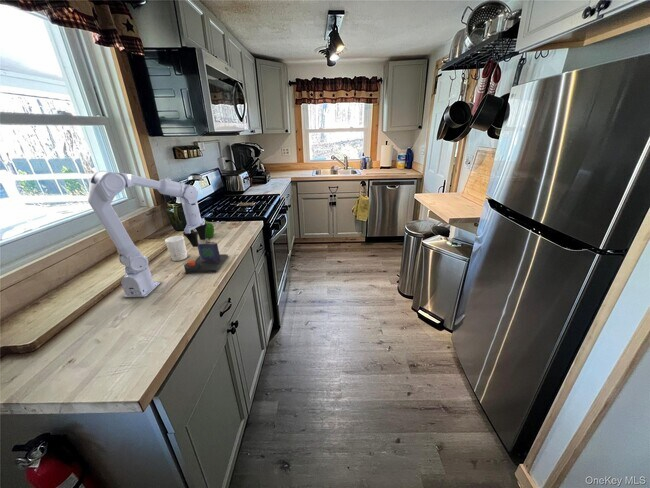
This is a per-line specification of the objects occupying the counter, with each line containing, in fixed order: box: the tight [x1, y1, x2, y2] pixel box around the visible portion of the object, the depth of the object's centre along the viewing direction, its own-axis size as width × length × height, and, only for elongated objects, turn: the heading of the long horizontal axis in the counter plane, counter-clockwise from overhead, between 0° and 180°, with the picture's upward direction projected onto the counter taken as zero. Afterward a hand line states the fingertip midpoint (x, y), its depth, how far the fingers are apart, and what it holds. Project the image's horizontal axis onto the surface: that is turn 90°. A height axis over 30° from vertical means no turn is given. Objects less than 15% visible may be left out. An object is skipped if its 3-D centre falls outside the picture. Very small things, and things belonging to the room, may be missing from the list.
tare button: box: [186, 259, 196, 266], centre depth 111 cm, size 3×3×2 cm
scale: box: [183, 253, 229, 274], centre depth 116 cm, size 16×14×3 cm
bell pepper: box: [205, 220, 215, 239], centre depth 146 cm, size 8×8×10 cm
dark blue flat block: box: [197, 238, 221, 262], centre depth 115 cm, size 9×3×11 cm, turn 86°
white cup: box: [164, 235, 188, 262], centre depth 122 cm, size 8×8×10 cm
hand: (199, 243), depth 114 cm, fingers open, 7 cm apart
